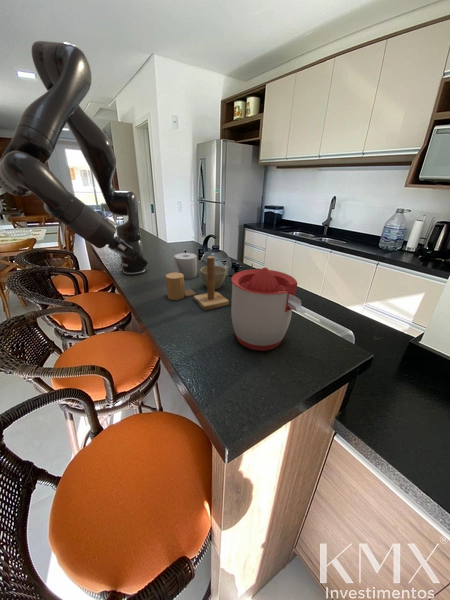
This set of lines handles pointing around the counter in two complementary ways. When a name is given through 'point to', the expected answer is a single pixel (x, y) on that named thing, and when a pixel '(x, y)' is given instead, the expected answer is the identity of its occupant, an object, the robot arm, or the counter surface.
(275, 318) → the citrus juicer
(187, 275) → the toilet tissue
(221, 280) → the beige bowl
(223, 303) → the paper towel holder
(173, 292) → the cap
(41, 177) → the robot arm
